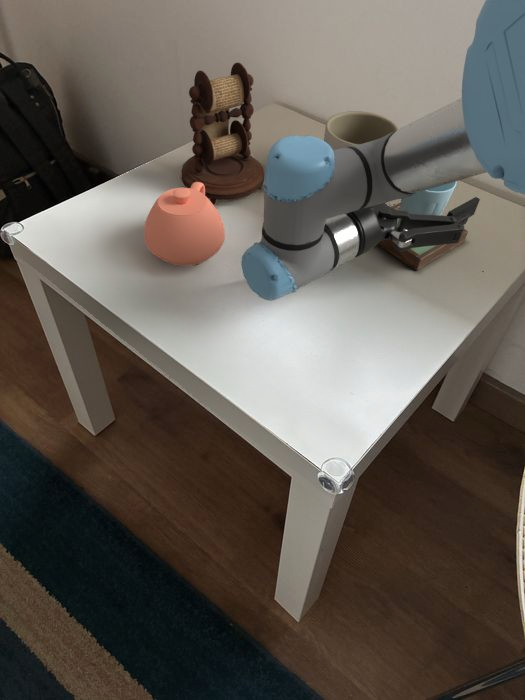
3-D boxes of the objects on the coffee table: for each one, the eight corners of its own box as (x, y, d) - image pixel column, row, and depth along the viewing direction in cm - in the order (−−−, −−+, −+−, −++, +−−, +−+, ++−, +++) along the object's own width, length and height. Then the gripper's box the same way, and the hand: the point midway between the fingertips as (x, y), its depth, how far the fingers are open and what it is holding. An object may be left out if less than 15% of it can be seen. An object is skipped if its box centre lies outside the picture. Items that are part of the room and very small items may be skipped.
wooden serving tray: (464, 242, 89) (468, 231, 87) (416, 271, 84) (420, 259, 82) (408, 207, 95) (411, 196, 93) (360, 232, 90) (363, 221, 88)
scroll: (236, 155, 104) (237, 42, 89) (279, 192, 96) (288, 76, 81) (167, 175, 98) (156, 59, 83) (207, 216, 91) (203, 96, 75)
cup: (402, 214, 92) (418, 158, 84) (444, 232, 89) (464, 175, 82) (381, 235, 88) (396, 179, 80) (424, 254, 85) (444, 198, 77)
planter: (398, 197, 97) (414, 139, 89) (337, 210, 93) (347, 151, 85) (364, 162, 104) (375, 106, 96) (306, 173, 101) (313, 116, 93)
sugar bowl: (132, 263, 82) (122, 205, 74) (171, 212, 91) (165, 156, 83) (207, 282, 80) (205, 225, 72) (239, 229, 89) (240, 173, 81)
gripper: (281, 214, 83) (375, 171, 93) (404, 304, 71) (497, 245, 80) (285, 170, 78) (384, 129, 87) (418, 259, 66) (517, 201, 75)
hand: (439, 185), depth 84 cm, fingers open, 13 cm apart
